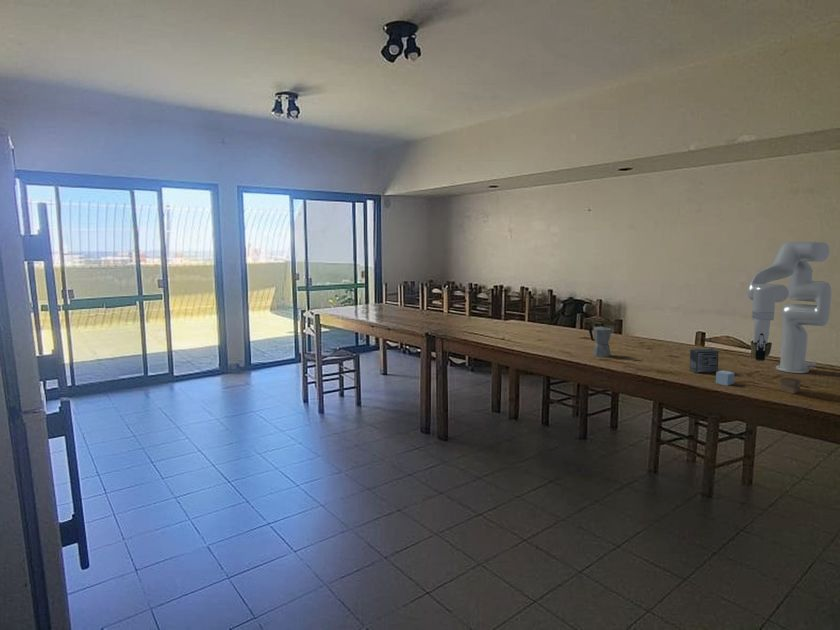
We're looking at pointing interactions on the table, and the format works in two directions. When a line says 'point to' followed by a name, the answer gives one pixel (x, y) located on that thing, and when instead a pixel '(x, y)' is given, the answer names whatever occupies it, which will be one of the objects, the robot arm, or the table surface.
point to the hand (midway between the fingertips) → (760, 357)
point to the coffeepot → (601, 340)
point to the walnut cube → (790, 385)
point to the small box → (704, 360)
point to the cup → (754, 347)
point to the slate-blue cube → (725, 377)
